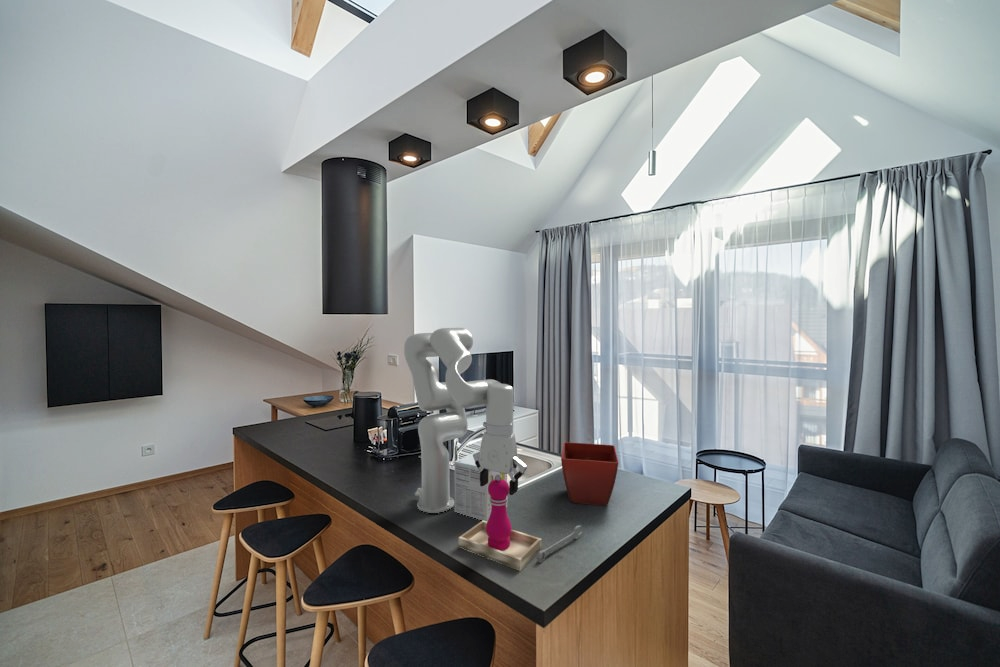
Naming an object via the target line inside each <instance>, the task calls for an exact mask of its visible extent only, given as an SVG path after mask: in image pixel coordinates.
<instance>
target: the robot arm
mask: <svg viewBox="0 0 1000 667" xmlns="http://www.w3.org/2000/svg"><path fill="white" fill-rule="evenodd" d="M473 344H474V339H473V335H472V333H471V332H470V331H469V330H468V329H467V328H464V327H441V328H438V329H436V330H434V331H433V332H421V333H414V334H412V335H409V336H408V337H407V338H406V340H405V342H404V345H403V346H404V347H403V352H404V353H403V354H404V359H405V361H406V364H407V367H408V368H409V371H410V374H411V376H412V380H413V381H412V382H413V387H414V392H415V396H416V397H415V398H416V402H417V406H418V408H419V409H420V410H421V411H422V412H434V411H439V410H440V411H441V410H446V412H441V413H440V412H439V413H436V414H430V415H427V416H424V417H423V418H422V419H421V420H420V421H419V422H418V426H417V427H418V428H417V433H418V437H419V443H420V450H421V452H420V453H421V457H420V461H421V487H418V488H417V489H416V492H414V496H415V497H419V500H418V502H417V504H416V507H418V508H417V509H419V510H418V511H420V510H421V511H423V512H422V513H424V512H428V513H438V514H440V513H439V512H443V513H445V512H444V511H446V512H448V511H447V510H449V509H450V510H452V509H453V508H452V507H455V499H454V498H453V497H451V494H450V491H451V490H450V488H451V487H450V485H451V484H450V477H451V476H450V472H451V471H450V453H449V451H448V448H446V446H445V445H444V443H445V442H447V441H451V440H455V439H456V440H457V439H460V438H462V437H464V436H465V435H466V434H467V433H468V429H469V428H468V418H467V413H466V410H467V409H475V408H479V407H486V412H485V413H486V414H485V415H486V416H485V421H484V422H482V426H483V427H485V431H483V432H482V433H483V434H482V437H481V443H480V450H479V452H477V453H474V452H473V453H474V454H473V458H474V461H475V464H476V466H477V467H478V471H479V472H480V486H484V485H486V484H487V483H488V470H492V471H495V472H499V473H503V474H507V476H508V477H509V478H510V480H509V482H508V485H509V494H508V495H510V496H513V495H515V494H516V493H518V490H519V479H520V478H521V477H522V476H523V475H525V472H526V470H527V469H528V466H527V464H526V463H524V462H523V461H522V460H521V459H519V458H518V447H517V441H516V440H517V438H516V434H514V398H515V397H514V392H515V391H514V388H513V386H511V385H509V384H508V383H501V382H500V381H498V380H495V379H491V378H490V379H489V378H488V379H482V380H481V379H479V380H469V381H465V380H464V379H463V377H462V376H461V374H463V373H464V372H465V371H466V370H467V371H468V369H469V367H470V366H471V364H472V362H473V358H472V356H473V355H472V354H471V352H470V350H471V349H472V347H473ZM433 357H436V358H437V357H438V358H439V359H440V360H441V362H442V363H443V364H444V365H445V368H446V371H445V381H442V382H440V381H439V379H438V373H437V370H436V368H435V366H433V364H432V363H431V362H430V361H429V360H428V359H427V358H433ZM465 409H466V410H465ZM517 467H518V468H519V470H517ZM451 508H452V509H451ZM450 510H449V511H450ZM421 511H420V512H421ZM428 513H427V514H428Z"/></svg>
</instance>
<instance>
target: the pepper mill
mask: <svg viewBox="0 0 1000 667" xmlns="http://www.w3.org/2000/svg"><path fill="white" fill-rule="evenodd" d="M488 493H489V495H490V503H491V506H492V508H491V514H490V517H489V519H488V522H487V525H486V533H487V535H488V536H489V537H488V546H489V547H491V548H494V549H497V550H505V549H507V548H508V547H509V546H510V537H509V536H510V534H511V532H512V530H513V529H512V523H511V520H510V518H509V515H508V510H507V507H506V504H507V505H508V502H509V501H508V495H510V494H509V482H508V481H507V482H506V481H505V480H503V479H502V476H501V475H500V474H497V475H496V479H495V480H493V481H491V482H490V484H489V486H488Z"/></svg>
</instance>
